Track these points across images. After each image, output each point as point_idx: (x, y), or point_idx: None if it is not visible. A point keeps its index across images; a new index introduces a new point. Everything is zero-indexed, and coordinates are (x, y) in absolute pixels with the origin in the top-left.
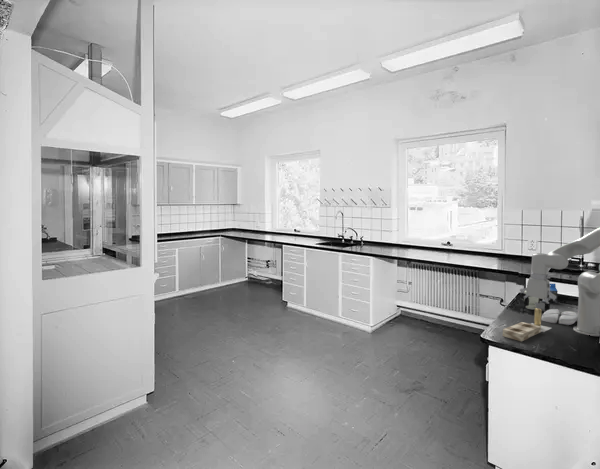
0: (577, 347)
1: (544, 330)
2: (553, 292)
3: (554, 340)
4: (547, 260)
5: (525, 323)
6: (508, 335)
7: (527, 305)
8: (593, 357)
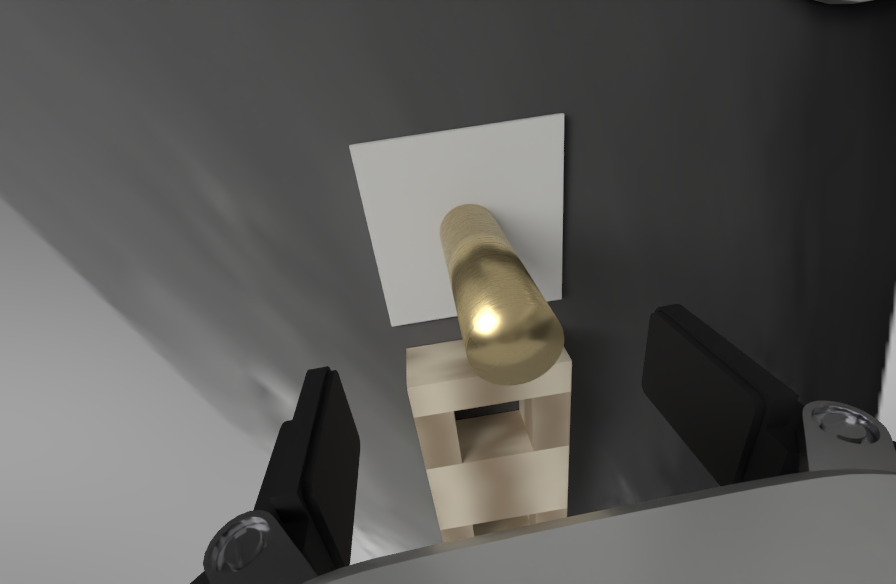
0: (802, 361)
1: (551, 260)
2: None
3: None
4: None
5: (451, 400)
6: None
7: (347, 407)
8: (874, 415)
